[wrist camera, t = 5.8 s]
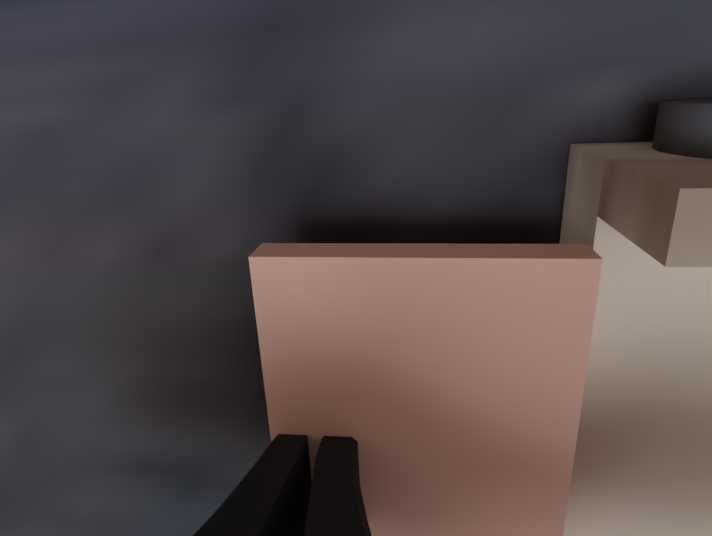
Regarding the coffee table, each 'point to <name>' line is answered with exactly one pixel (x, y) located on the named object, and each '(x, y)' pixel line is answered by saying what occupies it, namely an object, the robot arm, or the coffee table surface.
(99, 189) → the coffee table surface
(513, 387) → the panel
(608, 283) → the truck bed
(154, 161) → the coffee table surface
